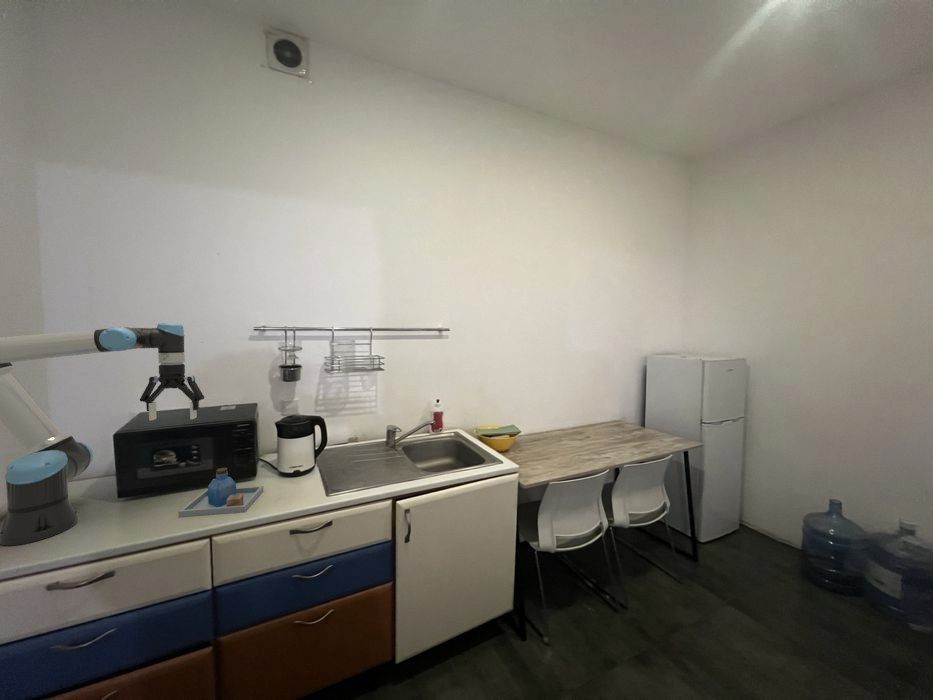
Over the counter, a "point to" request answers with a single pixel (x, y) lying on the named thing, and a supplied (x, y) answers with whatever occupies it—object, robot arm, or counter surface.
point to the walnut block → (235, 500)
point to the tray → (204, 508)
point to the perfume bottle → (221, 488)
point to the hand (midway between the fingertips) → (173, 419)
